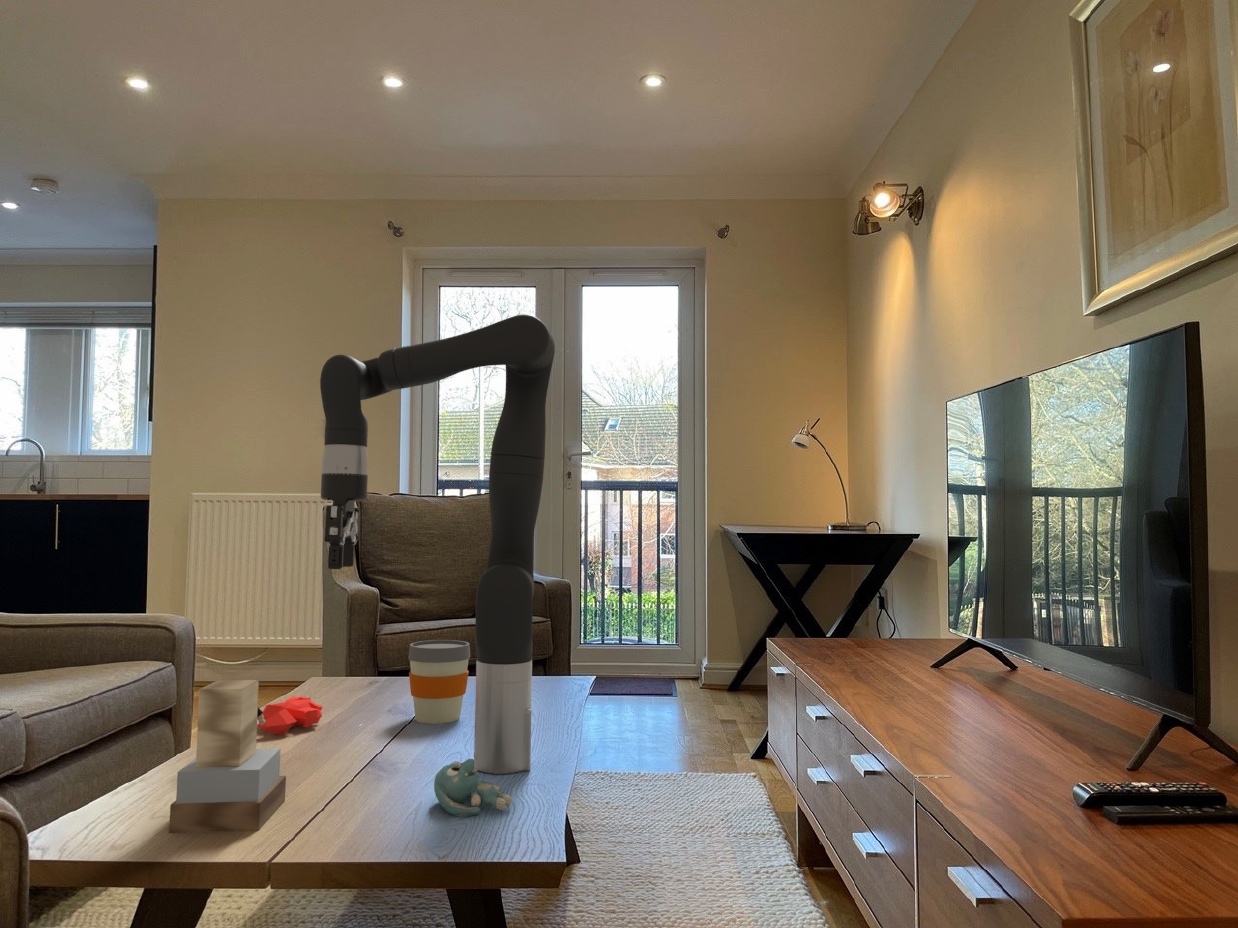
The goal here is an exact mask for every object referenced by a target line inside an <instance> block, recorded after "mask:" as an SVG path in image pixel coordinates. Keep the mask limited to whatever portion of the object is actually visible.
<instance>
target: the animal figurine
mask: <svg viewBox="0 0 1238 928" xmlns="http://www.w3.org/2000/svg"><path fill="white" fill-rule="evenodd" d="M322 709H323V705H320V704H316V703H315V702H314V701H312V699H311V698H310V697H305V696H296V695H295V696H291V697H289V698H287V699H286V700H285V701H281V702H278V703H274V704H266V705H265V706H264V709H263V710H262V711H263V716H264V719H265V721H266V722H265V724H264V725H260V724H259V723H257V728H260V729H261V730H263V731H266V732H269V733H271V734H275V735H283V736H284V735H285V734H286V733H287V732H288V731H289V730H290V729H291V728H292V727H296V726H297V727H300V726H302V728H308V727H309V726H310V725H314V724H319V722H320V720H321V718H322V717H323V712H322Z"/></svg>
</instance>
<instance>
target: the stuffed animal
mask: <svg viewBox="0 0 1238 928" xmlns="http://www.w3.org/2000/svg"><path fill="white" fill-rule="evenodd" d="M474 762H475V760H474V758H468V759H466V760H464V761H463V762H462V763H461V762H460V761H458V760H457V761H456V760H455V761H453V762H451V763H450V764H447V765H445V766H444V765H443V767H442V768H441V769H440V770H439V771H438V772H437V773H436V775H435V777H434V781H433V784H434V785H433V789H434V793H435V797H436V798H437V799H436V800H437V801H438V803H439V804H440V806H441V807H443V809H444V810H445V811H446V812H447V814H449V815H451V816H455V817H463V818H464V817H470V816H474V815H479V814H480V811H481V810H480V805H481V806H484V807H491V806H492V807H493V808H494V809H496V810H499V811H503V810H504V809H505V807H507V808H508V807H509V806H510V805H511V804H512V801H513V800H512V796H510V795H508V794H506V793H503V791H502V789H501V788H500V786H498V785H496V784H494V783H491V782H488V781H481V780H479V772H478V771H479V770H477V769H476V768H475V767H474ZM470 800H471V806H469V805H466V804H467V803H469V801H470Z"/></svg>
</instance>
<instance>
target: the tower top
mask: <svg viewBox="0 0 1238 928" xmlns="http://www.w3.org/2000/svg"><path fill="white" fill-rule="evenodd" d="M281 751H282V749H281V748H279V747H278V748H276V747H275V748H256V753H255V754H254V755H253V756H252V757H250V758H249V759H248V760H246V761H245V762H244V763H243V764H241V765H240V766H217V767H196V757H195V758H194V759H192V760H191V761H190V762H189V763H187V764H186V765H184V766H183V767H182V768H181V769H179V770H178V771H177V775H176V776H177V780H176V796H175V801H176V804H187V803H217V802H248V801H259V800H260V798H261V797H262V796H263V795H264V794H265V793H266V792H267V790H268V789H269V788H270V787H271V786H272V785H273V784H274V782H275V781H276V780H277V779H278V778H279V776H280V770H281V769H280V768H281V767H280V766H281Z"/></svg>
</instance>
